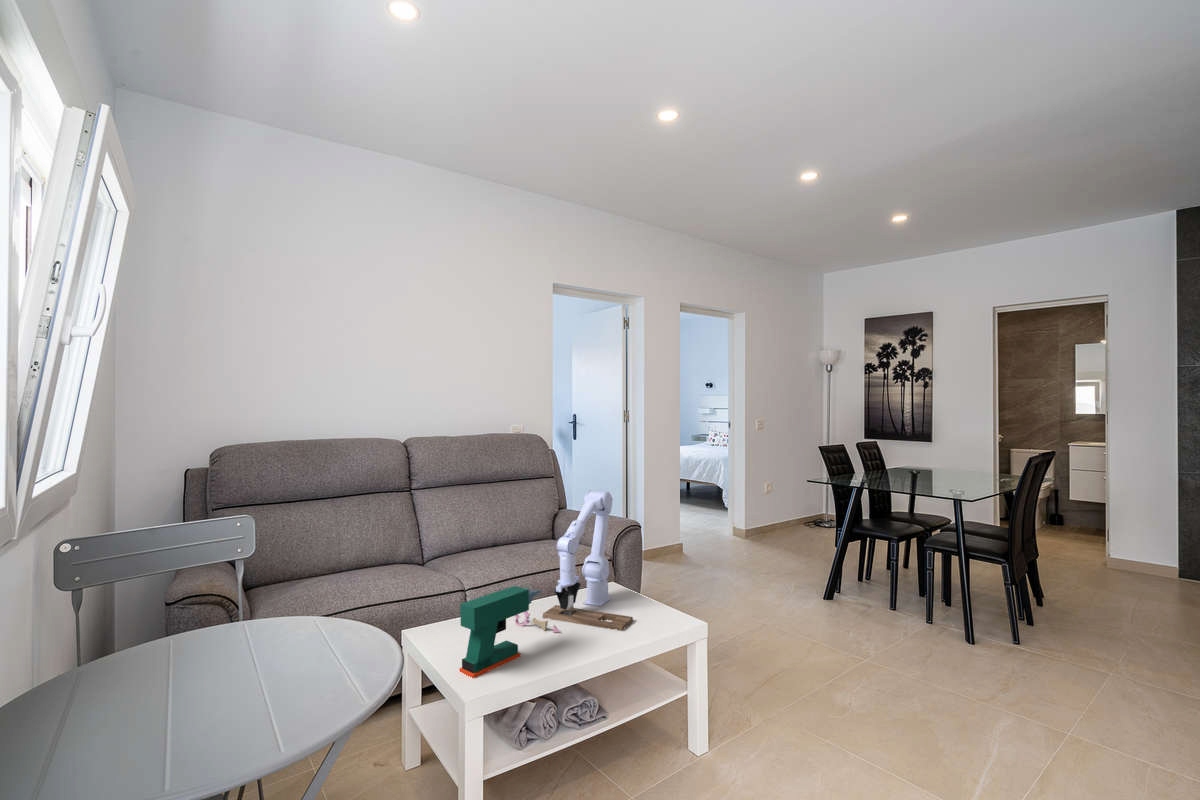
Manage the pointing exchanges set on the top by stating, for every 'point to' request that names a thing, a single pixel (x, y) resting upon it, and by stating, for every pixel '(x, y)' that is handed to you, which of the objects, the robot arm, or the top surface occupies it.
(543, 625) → the decorative key
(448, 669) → the top surface
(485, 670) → the power tool
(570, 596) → the steel rod
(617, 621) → the walnut board
